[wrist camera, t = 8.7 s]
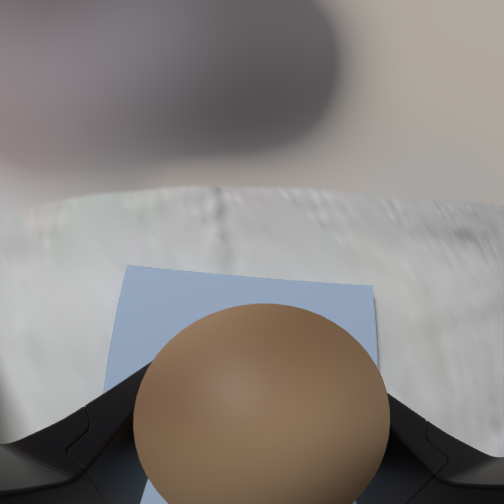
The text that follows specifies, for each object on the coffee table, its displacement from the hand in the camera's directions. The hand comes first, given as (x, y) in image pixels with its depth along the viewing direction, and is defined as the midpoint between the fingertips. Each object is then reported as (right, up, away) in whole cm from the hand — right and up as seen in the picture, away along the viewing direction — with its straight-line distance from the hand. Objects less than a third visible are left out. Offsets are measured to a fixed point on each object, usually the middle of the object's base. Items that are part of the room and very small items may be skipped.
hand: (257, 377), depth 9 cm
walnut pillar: (-1, -4, +5) cm, 7 cm away
